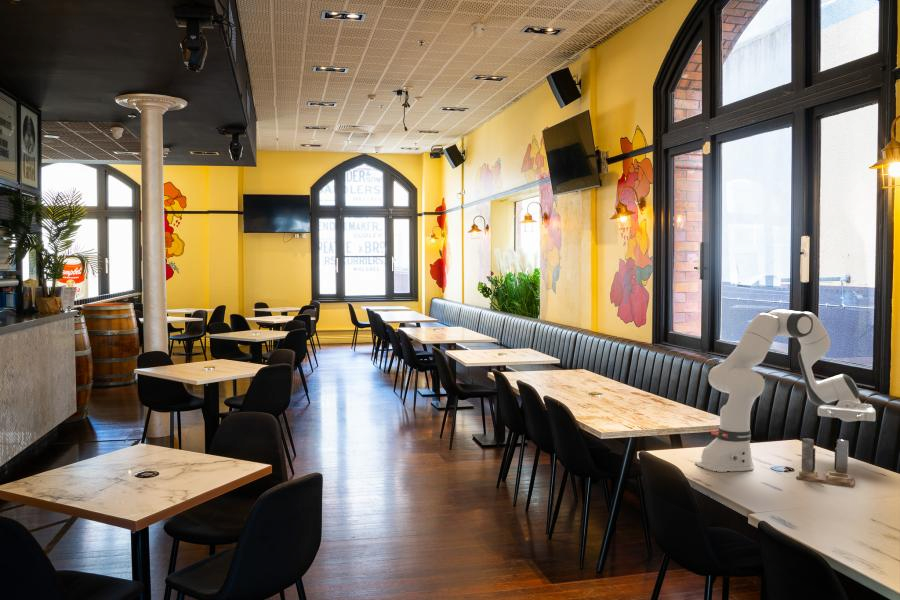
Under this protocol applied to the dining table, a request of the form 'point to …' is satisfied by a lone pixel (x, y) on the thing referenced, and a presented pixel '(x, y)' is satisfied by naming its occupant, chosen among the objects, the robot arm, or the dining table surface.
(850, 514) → the dining table surface
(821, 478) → the twin post stand
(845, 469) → the grey tall block
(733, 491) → the dining table surface
